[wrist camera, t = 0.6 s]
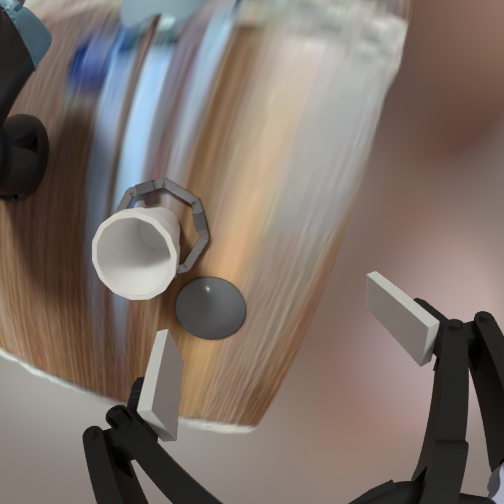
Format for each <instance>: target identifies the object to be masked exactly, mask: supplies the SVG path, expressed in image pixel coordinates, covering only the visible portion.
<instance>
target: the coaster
mask: <svg viewBox="0 0 504 504" xmlns="http://www.w3.org/2000/svg"><path fill="white" fill-rule="evenodd" d="M245 312H246V310H245V302H244V299H243V296H242V294H241V293H240V291H239V290H238V289H237V288H236V287H235V286H234V285H233V284H232V283H230V282H228V281H226V280H224V279H221V278H217V277H201V278H198V279H195V280H193V281H191V282H189V283H188V284H187V285H185V286H184V288H183V289H182V290H181V291H180V293H179V295H178V298H177V301H176V315H177V318H178V320H179V322H180V324H181V325H182V326H183V328H185V329H186V330H187V331H188V332H189V333H191V334H193V335H194V336H197V337H200V338H204V339H220V338H224V337H226V336H228V335H230V334H232V333H233V332H235V331H236V330H237V329H238V328H239V327H240V325H241V324H242V322H243V320H244V317H245Z"/></svg>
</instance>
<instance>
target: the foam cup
mask: <svg viewBox="0 0 504 504" xmlns="http://www.w3.org/2000/svg"><path fill="white" fill-rule="evenodd" d="M179 237H180V225H179V222H178V219H177V217H176V216H175V215H174V214H173V213H172V212H171V211H170V210H167V209H165V208H162V207H159V208H149V209H145V208H142V207H141V208H132V209H124V210H121V211H119V212H117V213H115V214H114V215H113V216H111V217H110V218H108V219H107V220H106V221H104V222H103V223H102V224H100V226H99V228H98V230H97V232H96V235H95V237H94V239H93V241H92V261H93V264H94V266H95V269H96V271H97V273H98V276H99V278H100V280H101V281H102V282H103V283H104V284H105V285H106V286H107V287H108V288H109V289H110V290H111V291H112V292H113V293H116V294H118V295H120V296H123V297H125V298H128V299H130V300H144V299H151V298H153V297H154V296H156V295H158V294H160V293H162V292H163V291H165V290H166V288H167V287H168V285H169V284H170V282H171V280H172V279H173V277H174V276H175V274H176V271H177V269H178V266H179V256H180V245H179Z"/></svg>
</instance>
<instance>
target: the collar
mask: <svg viewBox="0 0 504 504" xmlns="http://www.w3.org/2000/svg"><path fill="white" fill-rule="evenodd" d="M162 187H164V188H166V189H167V190H169V191H171V192H172V193H174V194H176V195H177V196H179V197H180V198H182V199H184V200H185V201H187V202H188V203H190V204H192V206H193V211H194V213H193V214H192V215H193V219H194V223H195V227H196V231H197V232H198V231H199V235H200V237H199V239H198V241H197V242H196V244H195V245H194V247H193V249H192V250H191V252H190V254H189V255H188V257H187V259H186V260H185V262H183V263H179V266H178V269H177V271H176V274H175V276H174V277H173V278H177V277H178V274H179V273H183V272H188V270H190V269H191V267H192V265H193V264H194V262H195V261H196V259H197V257H198V256H199V254H200V253H201V251H202V249H203V248H204V246H205V245H206V243H207V242H208V240H209V233H208V229H207V222H206V218H205V213H204V210H203V208H202V203H201V200H198V199H199V197H197V196H196V195H194V194H192V193H191V192H189V191H188V190H186V189H184V188H183V187H181V186H180V185H178V184H176V183H175V182H173V181H171V180H170V179H168V178H166V179H165V178H162V179H158V180H152V181H148V182H145V183H141V184H138V185H135V186H134V187H131V188H128V189H127V190H126V192H125V194H124V196H123V198H122V200H121V202H120V204H119V206H118V208H117V210H116V212H115V213H117V212H119V211H121V210H124V209H127V208H128V207H129V205H130V203H131V201H132V199H133V197H134V195H140V194H144V193H147V192H151V191H154V190H157V189H158V188H162Z"/></svg>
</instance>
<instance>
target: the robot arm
mask: <svg viewBox="0 0 504 504" xmlns="http://www.w3.org/2000/svg"><path fill="white" fill-rule="evenodd" d="M51 41H52V37H51V33H50V31H49V30H48V28H47V27H46V26H45V25H44V24H43V23H42V21H41V20H40V19H39V18H38V17H37V16H35V15H34V14H33V13H32V12H31V11H30V10H29V9H27V8H26V7H23V5H22V4H20V3H19V2H18V1H17V0H0V200H1V201H4V202H17V201H20V200H23V199H26V198H27V197H29V196H30V195H31V194H32V193H33V192H34V191H35V190H36V188H37V187H38V185H39V183H40V182H41V179H42V177H43V175H44V172H45V168H46V164H47V158H48V139H47V134H46V131H45V128H44V126H43V124H42V123H41V121H40V120H39V119H38V118H36V117H35V116H32V115H27V114H17V115H14V116H11V117H8V118H7V116H8V114H9V112H10V110H11V108H12V106H13V104H14V103H15V101H16V99H17V97H18V96H19V94H20V92H21V90H22V89H23V87H24V85H25V84H26V82H27V81H28V79H29V77H30V76H31V74H32V73H33V71H34V72H35V71H36V69H37V66H38V64H39V62H40V61H41V59H42V58H43V56H44V55H45V53H46V52H47V51H48V49H49V47H50V45H51ZM366 279H367V309H368V310H369V311H370V312H371V313H372V314H373V315H374V316H375V317H376V319H377V320H378V321H379V322H380V323H381V324H382V325H383V326H384V327H385V328H386V329H387V330H388V331H389V333H390V334H391V335H392V336H393V337H394V338H395V339H396V340H397V341H398V342H399V343H400V345H401V346H402V347H403V348H404V349H405V350H406V351H407V352H408V353H409V355H411V357H412V358H413V359H414V360H415V361H416V362H417V363H418V365H419V366H420V367H421V366H423V365H425V364H427V363H428V362H430V361H431V359H432V355H433V354H435V356H436V357H437V358H436V362H435V365H434V369H433V370H434V371H435V375H434V384H433V392H432V399H431V406H430V412H429V418H428V423H427V428H426V433H425V437H424V442H423V446H422V450H421V454H420V458H419V461H418V465H417V467H416V470H415V472H414V474H413V476H412V479H411V481H401V482H396V483H393V480H390V481H388V482H386V483H384V484H382V485H379V486H377V487H375V488H373V489H370V490H368V491H367V492H366V493H364V494H363V495H361V496H360V497H358V498H357V499H355V500H354V501H352V502H350V503H349V504H504V336H503V334H502V332H501V330H500V328H499V327H498V325H497V322H496V321H495V319H494V317H493V316H492V315H491V314H490V313H488V312H485V311H480V312H477V313H476V314H475V317H474V321H470V322H467V323H463V322H462V321H460V320H458V319H450V320H449V319H447V318H446V317H445V316H444V315H442V314H441V313H440V312H439V311H437V310H436V309H434V308H433V307H432V306H430V304H428V303H427V302H426V301H425V300H422V299H419V298H415V299H413V300H412V299H411V298H410V297H409V296H407V295H406V294H405V293H404V292H402V291H401V290H400V289H398V288H397V287H396V286H395V285H393V284H392V283H391V282H389V281H388V280H387V279H385V278H384V277H383V276H381V275H380V274H379V273H377V272H376V271H375V272H372V273H370V274H367V275H366ZM183 362H184V360H183V358H182V356H181V354H180V352H179V350H178V348H177V346H176V344H175V342H174V340H173V338H172V336H171V334H170V332H169V330H168V329H166V330H161V331H157V335H156V338H155V342H154V345H153V349H152V352H151V356H150V360H149V363H148V367H147V371H146V375H145V377H139V378H137V380H136V381H135V382H134V384H133V386H132V390H131V393H130V398H129V401H128V404H127V407H125V406H124V405H116V406H114V407H112V408H111V409H110V410H109V411H108V412H107V414H106V421H107V423H108V424H109V425H110V426H111V427H112V428H110V429H107V430H102V429H101V428H100V427H98V426H91V427H89V428H87V429H86V430H85V432H84V434H83V445H84V451H85V455H86V461H87V466H88V471H89V474H90V479H91V483H92V487H93V491H94V495H95V498H96V502H97V504H148V501H147V499H146V497H145V495H144V493H143V490H142V488H141V486H140V484H139V481H138V479H137V476H136V474H135V471H134V469H133V466H132V464H131V460H134V459H135V460H136V461H137V462H138V464H139V465H140V466H141V468H142V469H143V470H144V471H145V473H146V474H147V475H148V476H149V477H150V479H151V480H152V481H153V482H154V483H155V485H156V486H157V487H158V488H159V489H160V490H161V491H162V493H164V495H165V496H166V497H167V498H168V499H169V500H170V501H171V502H172V503H173V504H223V503H222V502H220V501H219V500H218V499H217V498H215V497H214V496H213V495H212V494H211V493H209V492H208V491H207V490H206V489H205V488H204V487H202V486H201V485H200V484H199V483H198V482H197V481H196V480H194V479H193V478H192V477H191V476H190V475H189V474H188V473H187V472H186V471H185V470H184V469H183V468H182V467H181V466H180V465H179V464H178V463H177V462H176V461H175V460H174V459H173V458H172V457H171V456H170V455H169V454H168V453H167V452H166V451H165V450H164V449H163V448H162V447H161V446H160V445H159V444H158V443H157V441H158V437H159V438H160V439H161V440H162V441H176V440H177V426H178V413H179V401H180V391H181V381H182V371H183ZM468 366H469V367H468ZM469 370H470V373H471V376H472V379H473V383H474V387H475V390H476V394H477V398H478V402H479V407H480V411H481V416H482V420H483V426H484V431H485V437H486V444H487V451H488V458H489V465H490V468H491V472H492V474H491V476H490V479H489V483H488V485H487V489H488V491H489V495H488V497H482V496H475V495H469V494H464V493H460V489H461V485H462V481H463V476H464V472H465V466H466V460H467V455H468V446H469V445H468V442H466V440H465V437H466V427H467V416H468V397H469V396H468V395H469Z"/></svg>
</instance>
